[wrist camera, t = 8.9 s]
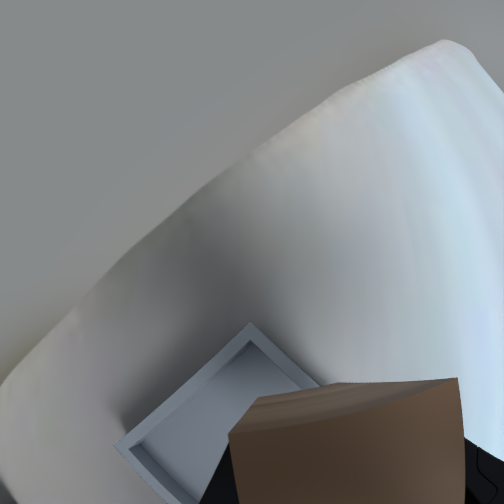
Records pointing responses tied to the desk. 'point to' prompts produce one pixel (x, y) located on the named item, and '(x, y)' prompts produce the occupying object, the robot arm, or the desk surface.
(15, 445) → the desk surface
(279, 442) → the walnut block
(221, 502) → the robot arm
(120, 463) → the desk surface
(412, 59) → the desk surface
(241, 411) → the tray
